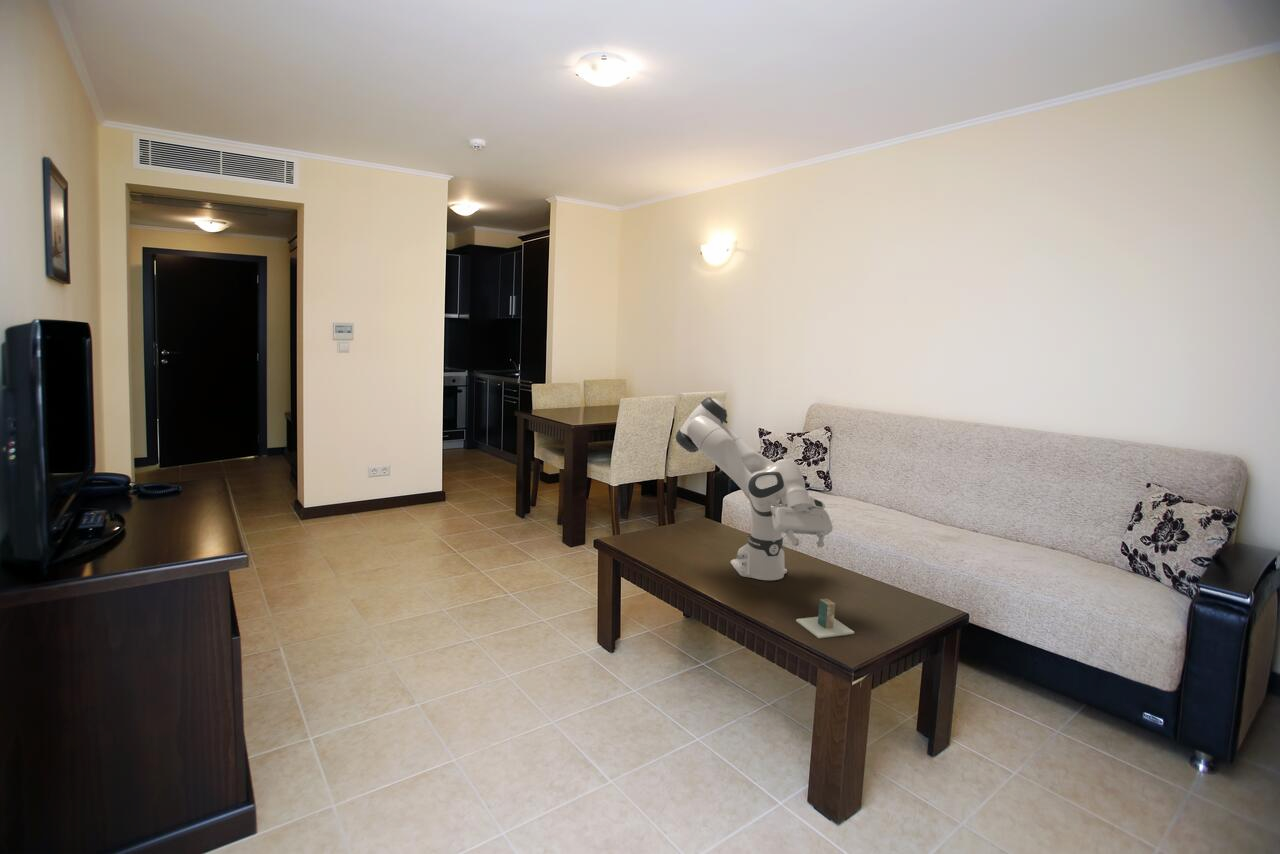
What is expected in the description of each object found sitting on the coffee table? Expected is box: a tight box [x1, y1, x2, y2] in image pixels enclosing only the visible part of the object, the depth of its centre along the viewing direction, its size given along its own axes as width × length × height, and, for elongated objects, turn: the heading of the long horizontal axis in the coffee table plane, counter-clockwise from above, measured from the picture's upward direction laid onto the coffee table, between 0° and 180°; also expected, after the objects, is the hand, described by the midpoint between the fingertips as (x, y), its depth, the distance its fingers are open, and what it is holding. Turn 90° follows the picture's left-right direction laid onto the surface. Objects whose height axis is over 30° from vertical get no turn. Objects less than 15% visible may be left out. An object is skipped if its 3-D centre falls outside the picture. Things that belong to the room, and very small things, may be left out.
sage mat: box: [795, 616, 855, 639], centre depth 194 cm, size 12×12×1 cm
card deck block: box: [817, 598, 836, 629], centre depth 193 cm, size 3×4×8 cm
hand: (808, 545), depth 199 cm, fingers open, 8 cm apart
